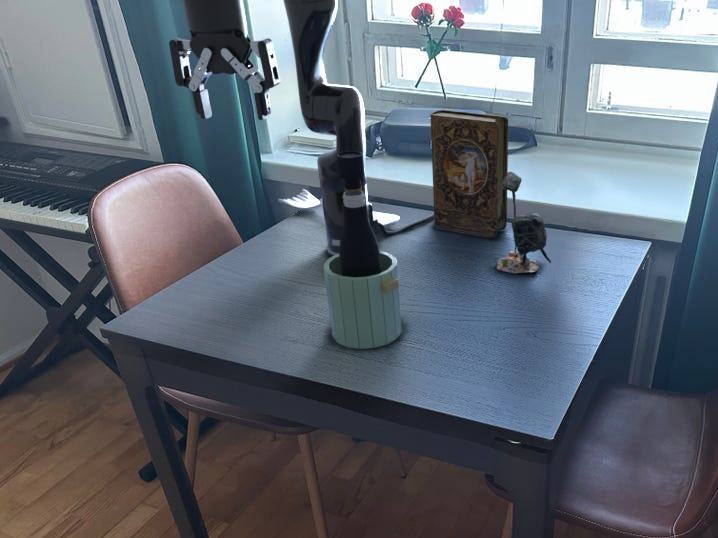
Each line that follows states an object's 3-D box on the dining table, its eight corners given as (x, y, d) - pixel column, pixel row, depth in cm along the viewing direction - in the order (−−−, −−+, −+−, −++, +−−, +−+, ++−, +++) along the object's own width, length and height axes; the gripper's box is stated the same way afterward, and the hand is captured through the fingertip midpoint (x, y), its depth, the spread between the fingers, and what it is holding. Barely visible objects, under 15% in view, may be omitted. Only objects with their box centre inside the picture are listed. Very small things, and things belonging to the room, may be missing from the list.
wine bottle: (379, 342, 116) (362, 161, 100) (342, 338, 117) (320, 159, 101) (391, 324, 121) (377, 149, 105) (355, 320, 122) (337, 147, 106)
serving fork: (304, 200, 175) (302, 187, 173) (407, 224, 161) (407, 210, 159) (278, 211, 169) (276, 197, 167) (383, 237, 154) (382, 222, 153)
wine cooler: (363, 306, 126) (357, 242, 120) (420, 330, 119) (417, 263, 112) (313, 331, 119) (303, 264, 112) (371, 358, 111) (364, 288, 105)
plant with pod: (538, 282, 135) (543, 180, 124) (487, 270, 140) (488, 171, 129) (556, 267, 141) (562, 169, 130) (507, 256, 146) (509, 160, 135)
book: (431, 227, 159) (426, 114, 146) (442, 219, 164) (438, 109, 150) (496, 239, 154) (498, 122, 140) (506, 230, 158) (509, 116, 145)
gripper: (274, -12, 94) (292, 113, 102) (173, -13, 95) (199, 111, 104) (252, -7, 87) (273, 126, 96) (144, -8, 89) (175, 123, 98)
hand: (235, 118), depth 100 cm, fingers open, 8 cm apart
